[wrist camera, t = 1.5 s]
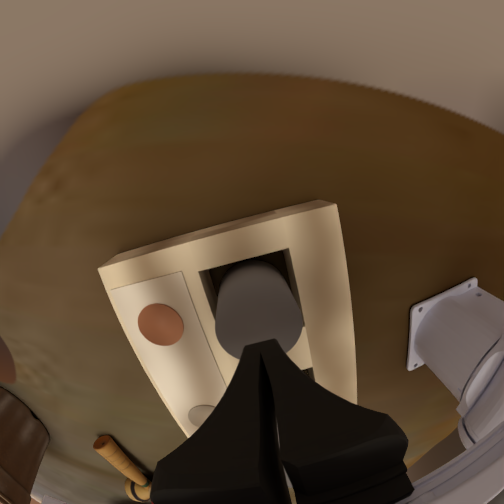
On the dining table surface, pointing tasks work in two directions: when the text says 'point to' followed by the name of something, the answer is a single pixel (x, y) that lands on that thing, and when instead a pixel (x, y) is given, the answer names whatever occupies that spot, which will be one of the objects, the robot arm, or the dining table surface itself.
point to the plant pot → (19, 449)
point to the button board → (205, 301)
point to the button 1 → (256, 308)
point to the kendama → (124, 469)
